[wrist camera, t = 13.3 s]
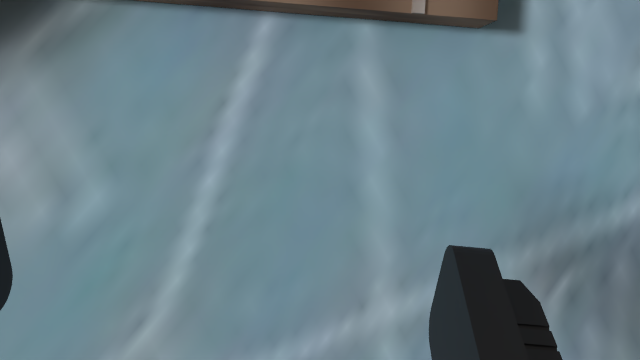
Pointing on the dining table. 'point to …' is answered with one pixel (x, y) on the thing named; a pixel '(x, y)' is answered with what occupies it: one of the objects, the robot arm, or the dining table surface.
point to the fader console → (373, 9)
